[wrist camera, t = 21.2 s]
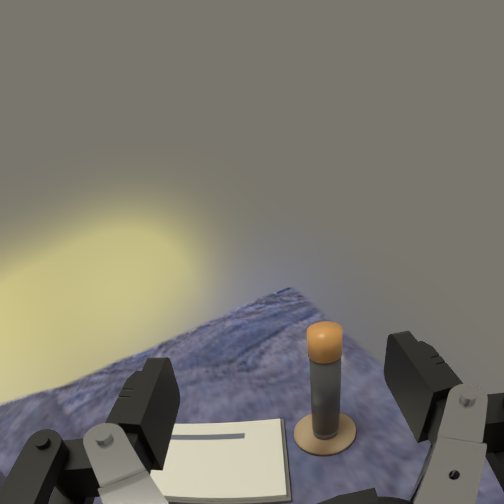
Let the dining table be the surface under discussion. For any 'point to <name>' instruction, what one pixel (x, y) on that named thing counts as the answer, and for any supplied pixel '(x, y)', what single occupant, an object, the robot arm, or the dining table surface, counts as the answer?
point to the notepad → (226, 464)
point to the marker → (325, 377)
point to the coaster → (324, 447)
